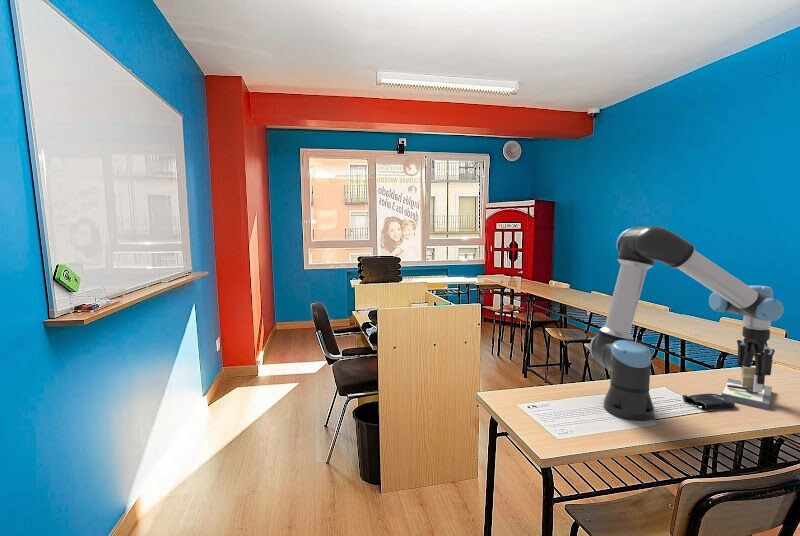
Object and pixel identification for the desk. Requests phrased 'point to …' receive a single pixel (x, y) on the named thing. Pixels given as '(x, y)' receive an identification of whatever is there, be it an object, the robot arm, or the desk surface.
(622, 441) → the desk surface
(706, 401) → the dark grey hollow piece
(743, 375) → the wooden block with bar
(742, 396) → the board
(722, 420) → the desk surface
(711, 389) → the desk surface
